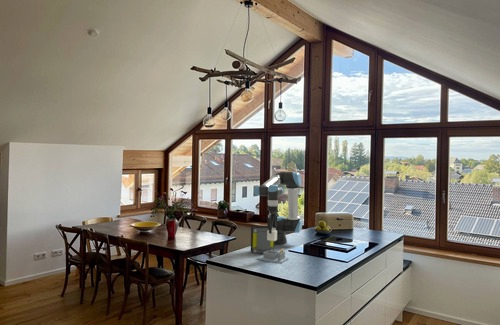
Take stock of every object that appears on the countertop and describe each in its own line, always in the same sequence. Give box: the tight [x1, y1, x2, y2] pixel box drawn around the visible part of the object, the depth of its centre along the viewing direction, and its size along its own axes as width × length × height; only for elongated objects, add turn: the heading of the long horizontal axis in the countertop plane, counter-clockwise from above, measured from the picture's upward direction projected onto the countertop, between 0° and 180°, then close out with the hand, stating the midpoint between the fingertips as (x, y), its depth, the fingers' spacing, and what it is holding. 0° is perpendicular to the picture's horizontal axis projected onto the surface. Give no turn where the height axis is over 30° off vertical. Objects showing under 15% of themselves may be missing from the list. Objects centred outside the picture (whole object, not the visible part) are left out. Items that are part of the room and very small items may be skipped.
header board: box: [256, 248, 289, 264], centre depth 272 cm, size 12×20×9 cm, turn 61°
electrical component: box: [250, 225, 275, 254], centre depth 294 cm, size 18×10×20 cm, turn 101°
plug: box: [267, 230, 277, 241], centre depth 273 cm, size 4×6×7 cm
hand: (272, 237), depth 273 cm, fingers closed on plug, 4 cm apart
